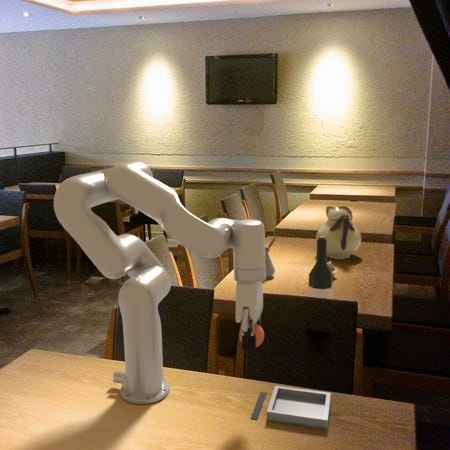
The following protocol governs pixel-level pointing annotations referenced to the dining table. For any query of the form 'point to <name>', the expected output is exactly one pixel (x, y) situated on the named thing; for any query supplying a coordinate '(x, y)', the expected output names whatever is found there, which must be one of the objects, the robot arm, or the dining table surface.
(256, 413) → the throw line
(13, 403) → the dining table surface
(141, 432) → the dining table surface
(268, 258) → the coffee pot
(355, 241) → the white drawstring sack
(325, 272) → the wine bottle
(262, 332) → the ball
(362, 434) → the dining table surface
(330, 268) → the architectural model
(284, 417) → the tray
